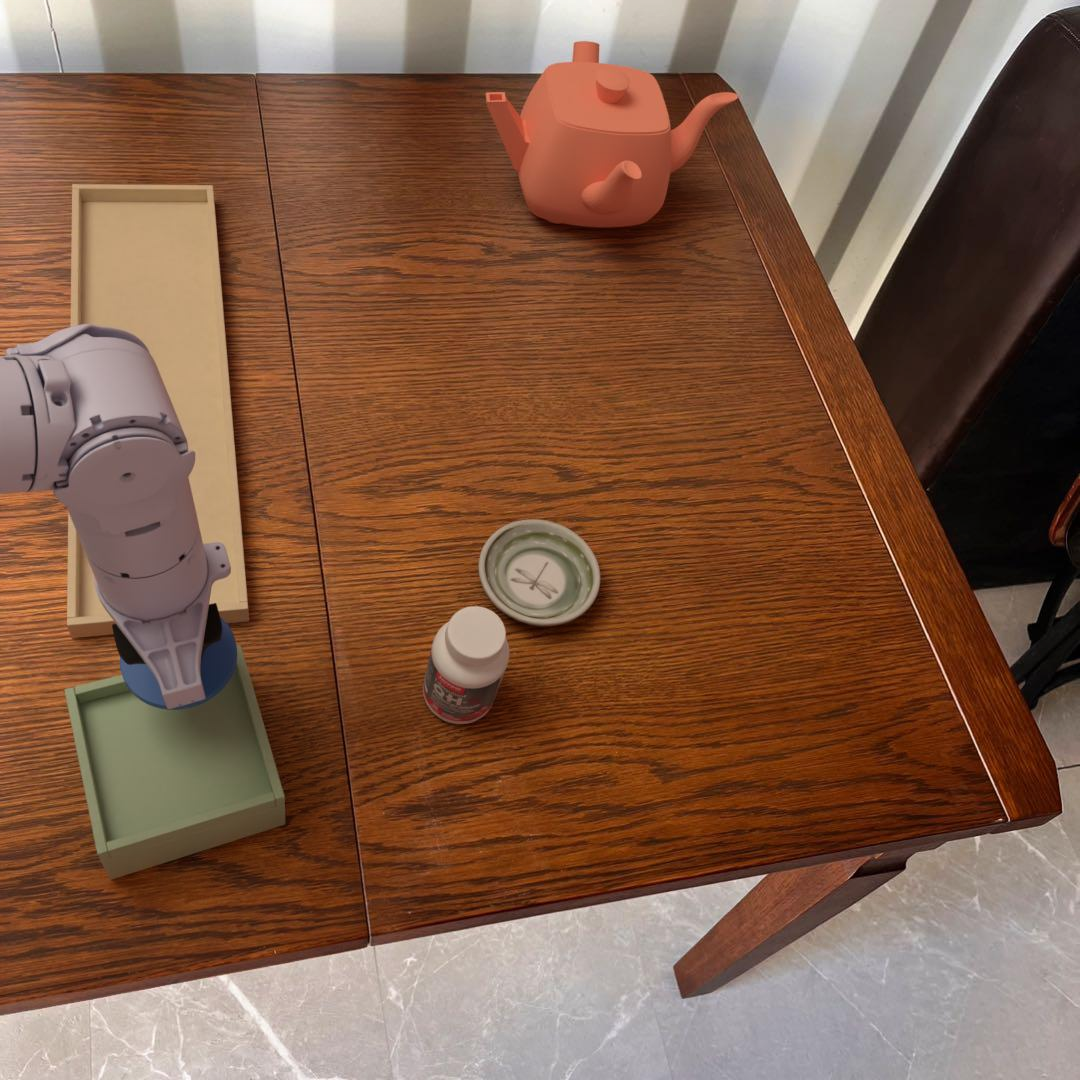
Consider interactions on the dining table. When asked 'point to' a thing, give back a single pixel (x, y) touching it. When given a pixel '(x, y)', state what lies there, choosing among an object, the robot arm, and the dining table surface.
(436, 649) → the pill bottle
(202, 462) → the tray
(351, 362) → the dining table surface
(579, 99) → the teapot
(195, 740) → the green square tray
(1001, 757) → the dining table surface
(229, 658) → the blue lid
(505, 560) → the saucer
